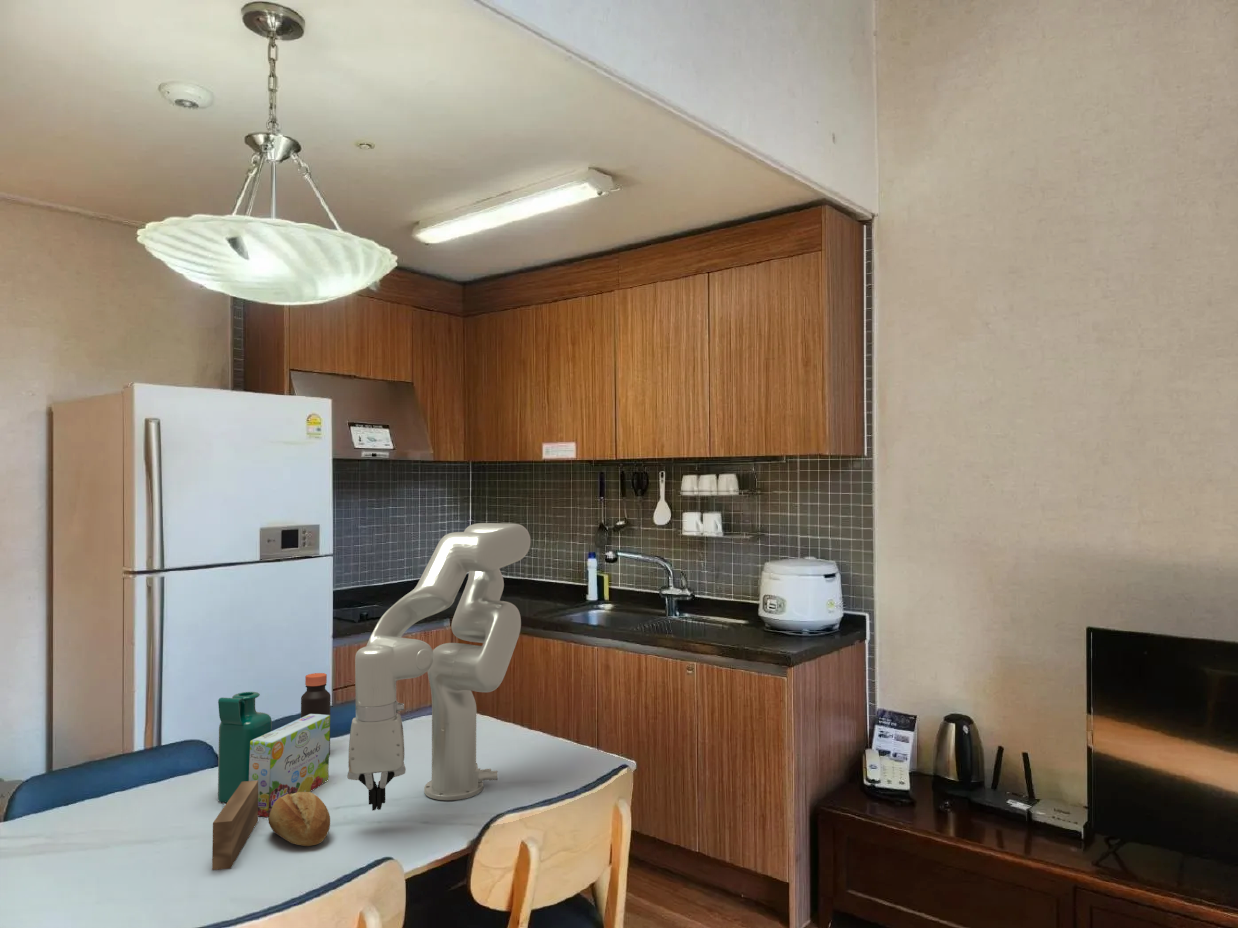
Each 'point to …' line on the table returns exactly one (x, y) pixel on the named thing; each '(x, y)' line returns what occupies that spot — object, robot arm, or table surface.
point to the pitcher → (237, 740)
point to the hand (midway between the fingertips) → (377, 806)
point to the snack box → (290, 759)
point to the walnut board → (234, 825)
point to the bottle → (316, 696)
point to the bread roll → (300, 818)
